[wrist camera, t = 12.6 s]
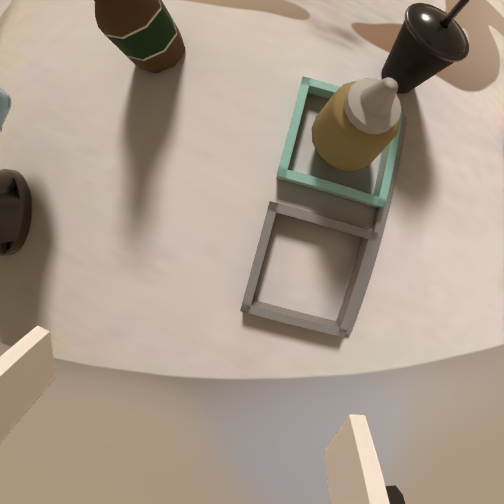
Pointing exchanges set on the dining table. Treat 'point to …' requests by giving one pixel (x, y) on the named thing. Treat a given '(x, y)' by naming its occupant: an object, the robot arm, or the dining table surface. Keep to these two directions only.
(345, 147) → the squeeze bottle
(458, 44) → the drinking cup
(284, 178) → the socket rack
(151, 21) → the beer bottle
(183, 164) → the dining table surface
